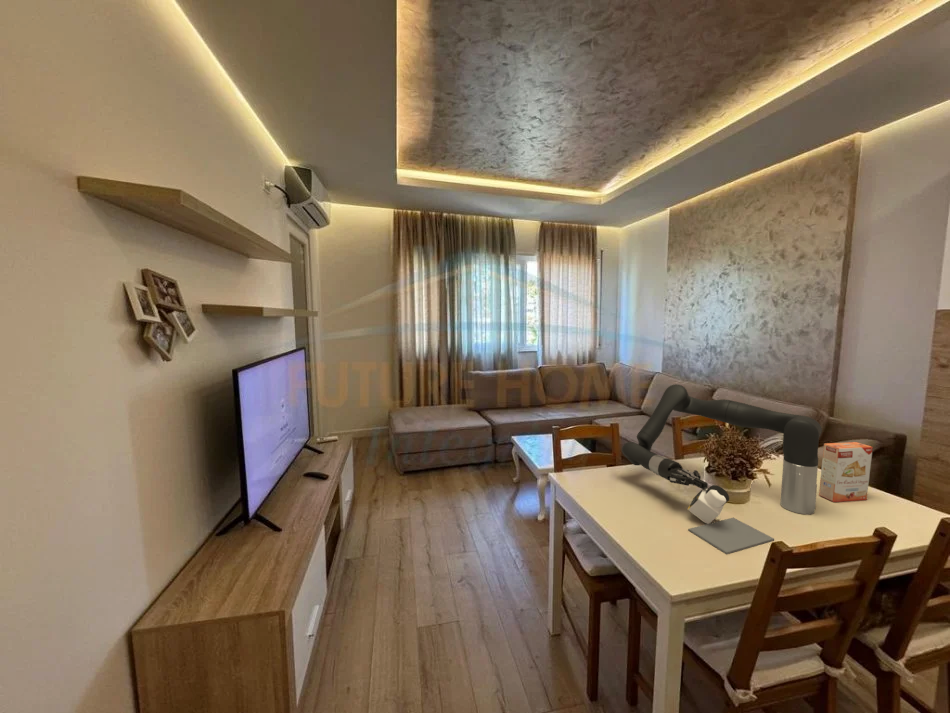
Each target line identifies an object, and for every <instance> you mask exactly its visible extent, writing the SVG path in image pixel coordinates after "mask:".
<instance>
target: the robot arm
mask: <svg viewBox="0 0 950 713" xmlns="http://www.w3.org/2000/svg"><path fill="white" fill-rule="evenodd" d="M673 411H675V412H679V413H685V414H691V415H696V416H701V417H704V418H708V419H711V420H715V421H719V422H723V423H725V424H730V425H734V426H737V427H742V428H748V429H749V428H750V429H761V430H762V429H763V430H771V431H774V432H778V433H781V434H783V435H782V436H783V438H782V439H783V440H782V453H783V454H782V455H783V459H782V460H783V463H782V473H781V474H782V476H781V491H780V506H781V507H783V509H785V510H788V511H790V512H791V513H792V512H793V513H796V514H801V515H813V514H814V513H815V510H816V507H817V506H816V505H817V491H818V484H817V482H818V468H819V454H818V453H819V442H820V437H821V434H822V431H823V429H822V425H821V424H820V423H819V422H818V421H817V420H816V419H814V418H812V417H810V416H806V415H800V414H793V413H787V412H780V411H774V410H772V409H771V410H770V409H766V408H763V407H760V406H757V405H752V404H748V403H743V402H740V401H736V400H732V399H731V400H730V399H713V400H704V399H700V398H696V397H693V396H690V395H689V392H688V390H687V388H686V387H685V386H684V385H681V384H678V383H677V384H672V385H670V386H668V387H666V389H665V391H664V392H663V394H662V396H661V398H660V400H659V401H658V404H657V405H656V408H655V409H654V411H653V412H652V413H651V415H650V417H649V419H648V420H647V421H646V422H645V424H644V425H643V426H642V427H641V429H640V430H639V431H638V433H637V434H636V439H637V441H638V442H637V443H636V442H634V441H627V442H625V443H624V444H623V445H622V447H621V452H622V455H623V456H624V457H625V458H626V459H627V460H628V461H629V462H630V463H631V464H632V465H634V466H641V467H643V469H646V470H648V471H650V472H652V473H654V474H655V475H656V476H659V477H661V478H663V479H665V480H667V481H669V482H670V483H672V484H678V485H682V486H687V487H689V486H690V485H691V486H692V487H693V486H695V487H698V488H699V489H700V490H702V489H708V488H709V487H708V486H709V485H708V484H709V483H708V482H706V481H704V480H702V479H701V477H702V476H701V474H700V473H699V471H698V470H696V469H695V470H693V471H690V470H688V469H686V468H683V467H682V465H681V463H679V462H677V461H676V460H673V459H670V458H668V457H665V456H663V455H660V454H658V453H654V452H652V451H651V450H652V447H653V444H654V443H655V442H656V441H657V439H658V438H659V437H660V435H661V434H662V432H663V430H664V428H665V426H666V423H667V421H668V419H669V417H670V415H671V413H672V412H673Z"/></svg>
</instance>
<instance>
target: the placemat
mask: <svg viewBox="0 0 950 713" xmlns="http://www.w3.org/2000/svg"><path fill="white" fill-rule="evenodd" d="M688 532H689V533H692V534H693V535H695V536H696V537H697V538H700V539H701V540H702V541H704V542H706V543H707V544H709V545H711V546H713V547H714V548H715V549H717V550H719V551H720V552H722V553H724V554H725V555H730V554H733V553H737V552H740V551H742V550H743V551H744V550H747V549H750V548H752V547H753V548H754V547H757V546H759V545H763V544H767V543H771V542H773V541H775V538H774V537H772V536H771V535H768V534H766V533H764V532H763V531H760V530H758V529H757V528H754V527H753V526H751V525H749V524H747V523H745V522H743V521H741V520H739V519H737V518H735V517H730V518H726V519H722V520H718V521H712V522H711V523H709V524H706V523H705V524H702V525H699V526H693V527H690V528H688ZM772 540H773V541H772ZM769 541H770V542H769Z"/></svg>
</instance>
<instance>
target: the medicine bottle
mask: <svg viewBox="0 0 950 713" xmlns="http://www.w3.org/2000/svg"><path fill="white" fill-rule="evenodd" d="M729 501H730V496H729V493H728V492H727V491H726V490H725V489H724V488H723V487H721V486H720V485H716V484H712V485H710V486H709V487H708V488H707V489H700V491H699V492H698V493H696V495H695V496H694V497H693V498H692V500H691V502H690V504H689V505H688V508H687V510H688V512H690V513H691V514H692V515H694V516H695V517H697V518H698V519H699V520H701V521H702V523H704V524H705V525H706V524H710V523H713V522H714V521H715V519H716V518H718V517H719V516H720V514H721V513H722V510H723V508H724V505H726V503H727V502H729Z"/></svg>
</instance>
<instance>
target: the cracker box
mask: <svg viewBox="0 0 950 713" xmlns="http://www.w3.org/2000/svg"><path fill="white" fill-rule="evenodd" d="M873 448H874V447H873V446H871V445H867V444H864V443H861V442H856V441H853V442H852V441H851V442H829V443H828V442H827V443H823V449H822V450H823V451H822V462H821V470H820V478H819V479H820V482H819V492H818V496H820V497H822V498H824V499H826V500H828V501H830V502H833V503H837V502H838V503H839V502H841V503H842V502H855V501H867V498H868V492H869V482H870V474H871V473H870V472H871V466H872V457H873Z"/></svg>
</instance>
